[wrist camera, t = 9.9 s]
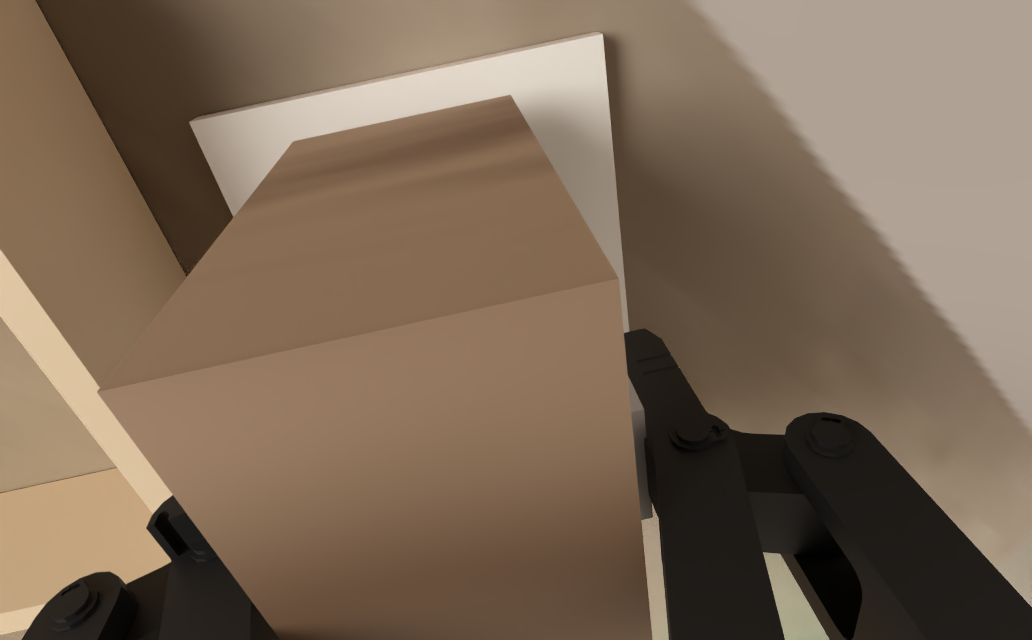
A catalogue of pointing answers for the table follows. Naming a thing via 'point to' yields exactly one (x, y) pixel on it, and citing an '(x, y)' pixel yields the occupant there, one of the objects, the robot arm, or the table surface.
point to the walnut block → (404, 393)
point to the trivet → (519, 72)
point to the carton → (72, 315)
